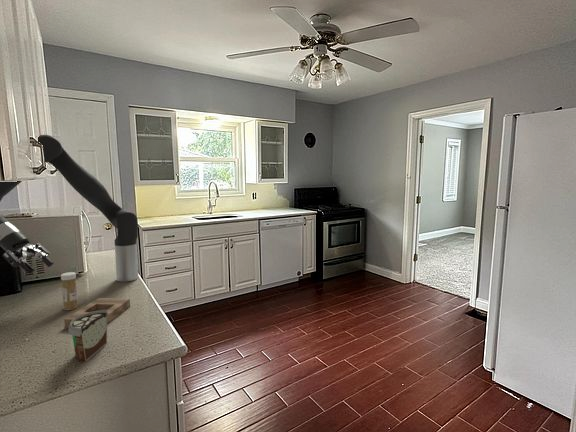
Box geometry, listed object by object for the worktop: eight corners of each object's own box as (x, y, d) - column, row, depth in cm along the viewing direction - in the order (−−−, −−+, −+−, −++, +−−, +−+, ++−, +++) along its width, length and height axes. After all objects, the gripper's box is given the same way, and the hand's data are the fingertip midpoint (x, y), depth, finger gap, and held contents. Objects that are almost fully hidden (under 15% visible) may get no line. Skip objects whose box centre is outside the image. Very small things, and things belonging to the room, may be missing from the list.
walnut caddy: (99, 305, 119) (98, 297, 119) (130, 306, 119) (129, 298, 118) (64, 327, 101) (64, 319, 101) (100, 328, 101) (100, 320, 100)
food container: (90, 340, 94) (88, 308, 93) (110, 340, 94) (108, 309, 93) (59, 364, 82) (56, 328, 81) (81, 365, 82) (79, 329, 80)
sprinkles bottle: (78, 309, 116) (75, 274, 114) (63, 311, 113) (60, 276, 111) (78, 304, 119) (75, 270, 118) (63, 307, 117) (61, 272, 115)
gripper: (-3, 234, 106) (32, 267, 107) (32, 227, 120) (63, 256, 121) (-17, 248, 107) (19, 281, 108) (20, 240, 121) (51, 269, 122)
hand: (42, 268), depth 115 cm, fingers open, 8 cm apart
